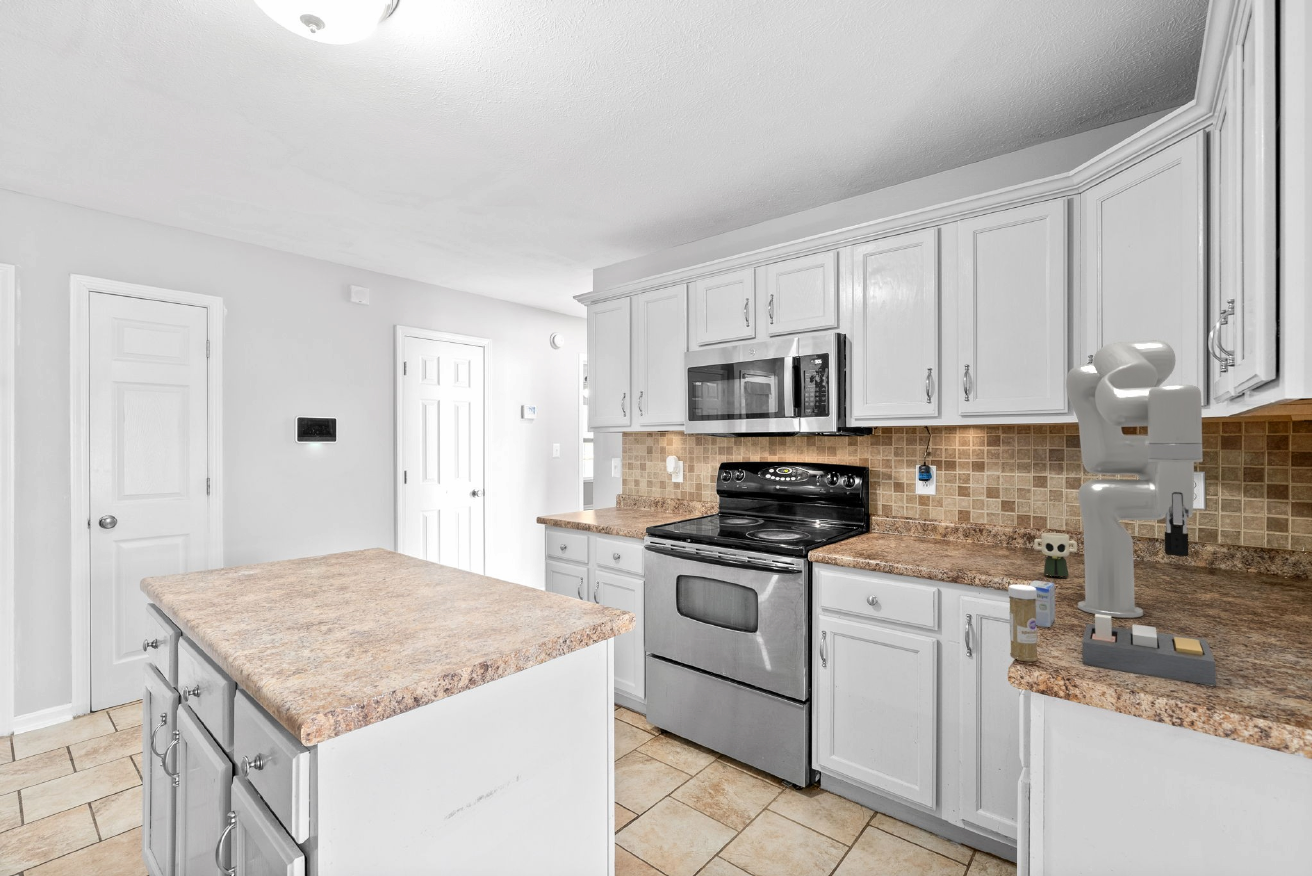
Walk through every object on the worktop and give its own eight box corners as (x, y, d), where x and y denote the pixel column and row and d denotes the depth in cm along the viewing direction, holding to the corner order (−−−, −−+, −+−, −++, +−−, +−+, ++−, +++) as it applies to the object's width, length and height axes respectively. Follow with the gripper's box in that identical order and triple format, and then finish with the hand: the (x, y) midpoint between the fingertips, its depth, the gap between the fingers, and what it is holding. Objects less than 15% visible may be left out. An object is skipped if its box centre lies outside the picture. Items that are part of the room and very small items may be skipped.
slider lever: (1093, 638, 118) (1092, 612, 118) (1115, 641, 116) (1114, 615, 116) (1092, 644, 114) (1091, 616, 115) (1115, 647, 112) (1114, 619, 112)
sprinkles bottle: (1030, 664, 113) (1028, 590, 113) (1005, 657, 117) (1003, 585, 117) (1042, 659, 115) (1041, 586, 116) (1017, 652, 119) (1015, 582, 119)
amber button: (1174, 646, 113) (1173, 636, 114) (1198, 649, 111) (1198, 639, 111) (1176, 658, 107) (1176, 647, 107) (1202, 661, 105) (1202, 651, 105)
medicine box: (1033, 617, 144) (1032, 579, 144) (1055, 620, 141) (1054, 582, 142) (1027, 624, 138) (1026, 585, 138) (1050, 628, 135) (1050, 588, 135)
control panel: (1087, 643, 124) (1086, 623, 124) (1206, 661, 113) (1206, 639, 113) (1082, 664, 112) (1082, 642, 112) (1216, 686, 101) (1215, 661, 102)
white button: (1132, 633, 117) (1132, 624, 117) (1155, 636, 115) (1155, 627, 115) (1132, 644, 111) (1132, 634, 111) (1157, 648, 109) (1157, 637, 109)
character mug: (1034, 577, 188) (1033, 534, 189) (1035, 573, 194) (1034, 531, 195) (1078, 580, 183) (1077, 536, 183) (1077, 576, 189) (1076, 534, 189)
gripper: (1147, 452, 120) (1148, 546, 120) (1149, 455, 108) (1151, 559, 108) (1198, 452, 116) (1200, 550, 116) (1206, 455, 104) (1208, 564, 104)
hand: (1176, 554), depth 112 cm, fingers closed
